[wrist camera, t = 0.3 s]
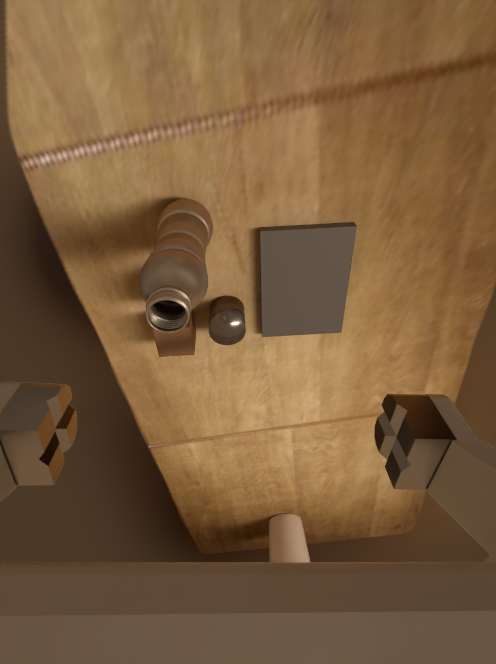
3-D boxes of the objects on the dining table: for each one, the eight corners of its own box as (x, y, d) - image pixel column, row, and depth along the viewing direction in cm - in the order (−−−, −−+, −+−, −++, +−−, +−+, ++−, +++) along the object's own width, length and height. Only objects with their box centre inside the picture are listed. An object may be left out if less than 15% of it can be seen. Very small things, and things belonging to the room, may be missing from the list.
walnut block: (157, 307, 56) (152, 329, 52) (192, 305, 56) (189, 327, 52) (163, 334, 59) (159, 356, 55) (196, 332, 59) (194, 354, 56)
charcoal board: (259, 227, 49) (260, 231, 48) (354, 222, 49) (356, 226, 48) (261, 332, 60) (262, 336, 59) (339, 327, 60) (341, 332, 59)
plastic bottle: (224, 222, 48) (223, 318, 33) (185, 253, 51) (167, 357, 35) (188, 181, 45) (168, 267, 30) (148, 217, 48) (110, 313, 32)
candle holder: (284, 507, 95) (291, 561, 85) (312, 518, 99) (321, 571, 90) (257, 523, 99) (261, 575, 90) (285, 533, 104) (291, 584, 94)
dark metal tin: (208, 296, 55) (207, 317, 51) (243, 294, 55) (244, 315, 51) (211, 324, 58) (210, 346, 55) (244, 322, 59) (246, 343, 55)
